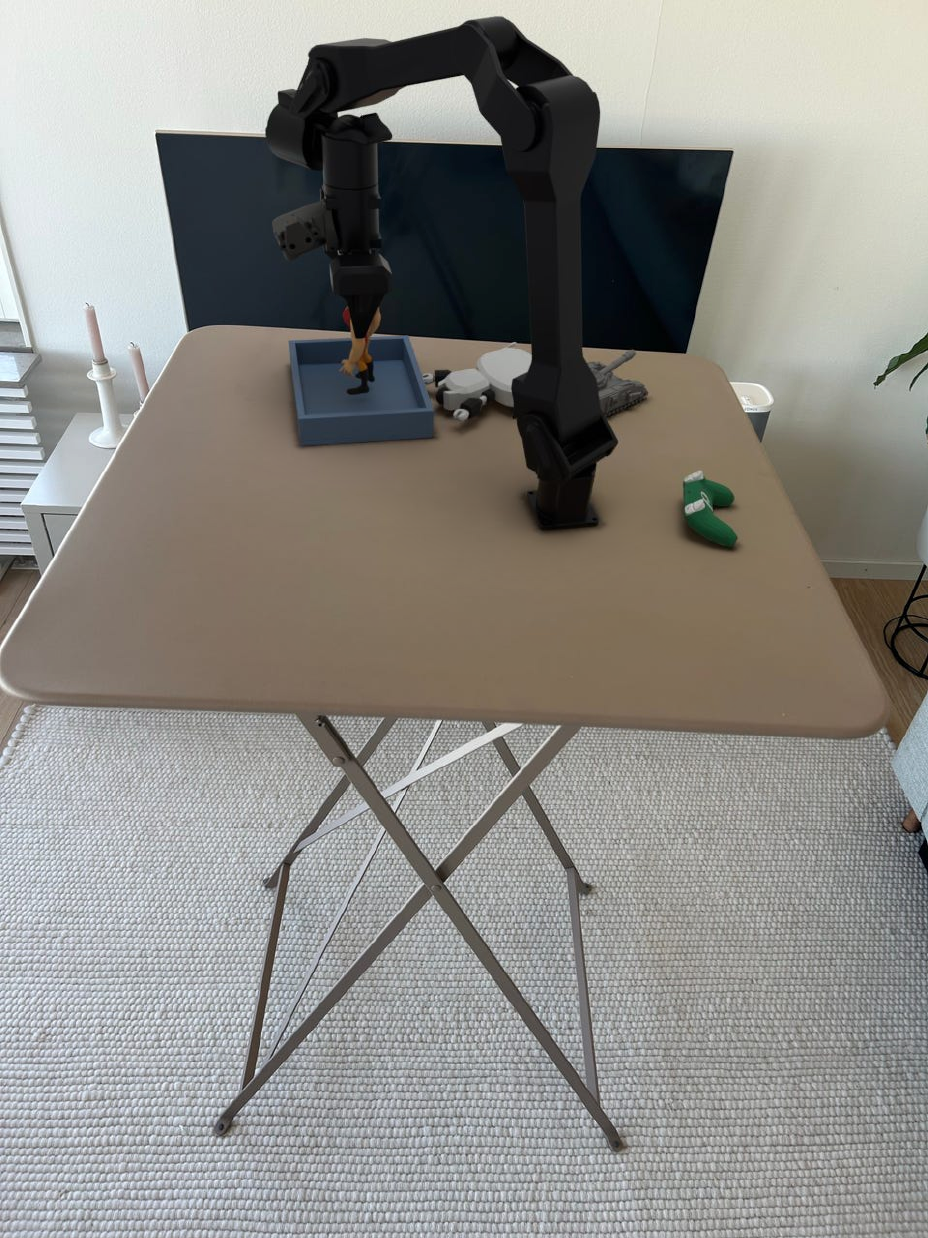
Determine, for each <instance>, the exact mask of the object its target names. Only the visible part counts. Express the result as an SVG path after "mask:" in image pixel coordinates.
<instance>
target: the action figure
mask: <svg viewBox="0 0 928 1238" xmlns="http://www.w3.org/2000/svg"><path fill="white" fill-rule="evenodd" d="M342 317H343V321H344V323H345V324H346V325H347V326H348V327H349V329H350V338H351V339H352V343H353V344H352V349H351V352H350V355H349V360H346V359H345V360H343V361H342V362H341V363H342V364H344V363H345V364H344V366H343V367H342V368H341V369H340V371H339V372H342V371H343V370H344V369H345V372H344V375H345V376H346V374H348V376H349V377H350V376H351V377H354V375H352V373H353V370H354V364H356V366H357V369H358V373H357V374H356V375H355V377H356V378H358V379H361V385H360V386H359V387H357V388H350V389H347V391H346V392H347V393H348V394H349V395H357V394H362V393H368V392H369V387H368V384H367V382H368V381H370V382H374V381H375V377H374V375H373V369H374V364H373V359H372V358H371V356H370V355H369V354H367V352H368V346H369V343H370V337H372V336H373V334H374V333H375V332H376V331H377V330H378V328H379V326H380V323H381V318H382V317H381V313H380V306H379V307H378V309H377V312H376V314H375V316H374V318H373V321H372V323H371V325H370V327H369V330H368V332H367V334H366V336H365V338H363V339H356V338H355V335H354V331H353V327H352V322H351V318H350V314H349V310H348V306H347V305H346V307H345V309H344V311H343V312H342ZM362 360H363V361H362Z"/></svg>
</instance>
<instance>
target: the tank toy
mask: <svg viewBox="0 0 928 1238" xmlns="http://www.w3.org/2000/svg"><path fill="white" fill-rule="evenodd" d="M636 355H637V352H636V350H635V349H629V350H627V351H626V352H625V353H623V354H622V355H621V356H620V357H618V358H616V359H615V360H614V361H612V362H611V363H610V364H608V365H606V364H605V363H603V362H600V361H589V362H587V364H588V365H589V367H590V369H591V370H592V372H593V374H594V375H595V377H596V380H597V386H598V392H599V399H600V406H601V409H602V411H603V413H604V415H605V417H606V418H607V417H608V416H611V415H614V414H615V413H618V412H619V411H621V410H623V409H626V408H627V407H630V406H631V405H635V404H636V403H638V402H642V400H644V399H645V398H646V397H647V396H648V395H649V390H648V389H647V388H646V387H645V384H643V382H640V381H638V380H633V379H622V378H620V377H618V376H617V375H614V373H613V371H614V370H616V369H618V368H619V367H621V366H622V365H623V364H625V363H627V362H629V361H630V360H632V359H633V358H635V356H636Z"/></svg>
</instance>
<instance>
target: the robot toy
mask: <svg viewBox="0 0 928 1238" xmlns="http://www.w3.org/2000/svg"><path fill="white" fill-rule="evenodd" d="M517 344H518V343H517V342H515V341H513V342H511V343H510V344H509V345H507V346H505V347H503V348H502V349H498V350H494V351H490V352H486V353H484V354H482V355H481V356H480V357H479V358H478V359H477V362H476V368H475V367H474V368H467V369H462V370H461V369H460V370H456V371H451V370H449V369H435V370H434V374H433V373H430V372H426V373H423V374H422V377H423V380H424V383H425V385H427V386H428V385H429V386H430V385H431V384H434V388H438V389H437V390H436V392H435V394H434V395H435V396H434V397H435V401H436V402H437V404H439V405H440V406H443V409H445V410H448V411H454V412H453V413H452V415H453V418H454V419H456V420H457V419H458V421H462V422H463V421H466V420H472V419H473V418H475V417H477V416H478V415H479V414H480V413H481V410H482V407H483V406H485V405H489V404H491V403H492V402H494V401H496V402H497V403H499V404H501V405H503V406H504V407H508V408H509V407H510V408H514V402H513V396H512V391H511V385H512V380H513V379H514V378H516V377H518V376H520V375H522V374H524V373H526V372H528V369H529V367H530V364H531V358H532V353H529V352H527V351H525V350H523V349H521V348H515V347H516V345H517Z"/></svg>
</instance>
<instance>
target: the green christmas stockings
mask: <svg viewBox="0 0 928 1238" xmlns="http://www.w3.org/2000/svg"><path fill="white" fill-rule="evenodd" d="M682 488H683V489H682V490H683V492H682V493H683V495H682V497H683V508H682V510H683V515H684V519H685V520H686V522H687V524H688V526H689V528H690V529H691V530H693V531H695V532H696V533H697V534H699V535H700V536H702V537H703V538H705V539H706V540H708V541H712V542H713V543H716V544H718V545H722V546H726V547H730V548H734V546H735V544H736V543H737V541H738V539H739V536H738V535H737V533H736V532H735V530H734V529H733V528H732V527H731V526H730V525H728V524H727V523H726V522H724V520H722V519H720V518H719V517H717V516H716V515H715V514H714V506H718V507H729V506H730V505H731V504H733V502H734V501H735V494H734V493H733V491H731V489H730V487H727V486H725V484H722V483H719V482H716V481H713V480H710V479H708V478H706V476H704V474H703V471H702V470H698V471H694V472H693V473H690V474H688V475H687V476H686V477H685V478H684V479H683V482H682Z"/></svg>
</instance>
